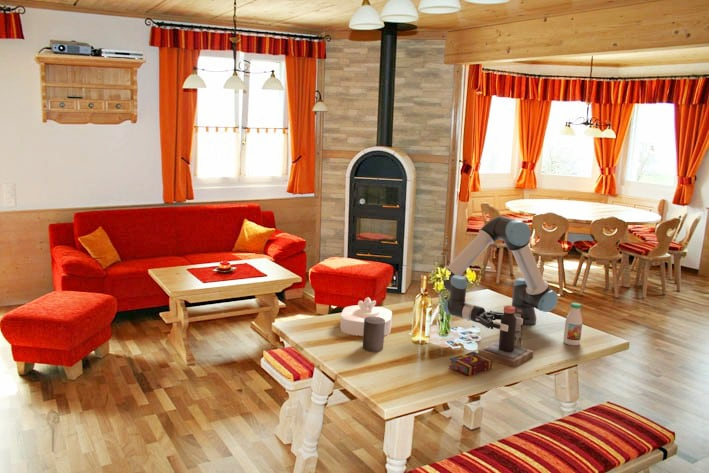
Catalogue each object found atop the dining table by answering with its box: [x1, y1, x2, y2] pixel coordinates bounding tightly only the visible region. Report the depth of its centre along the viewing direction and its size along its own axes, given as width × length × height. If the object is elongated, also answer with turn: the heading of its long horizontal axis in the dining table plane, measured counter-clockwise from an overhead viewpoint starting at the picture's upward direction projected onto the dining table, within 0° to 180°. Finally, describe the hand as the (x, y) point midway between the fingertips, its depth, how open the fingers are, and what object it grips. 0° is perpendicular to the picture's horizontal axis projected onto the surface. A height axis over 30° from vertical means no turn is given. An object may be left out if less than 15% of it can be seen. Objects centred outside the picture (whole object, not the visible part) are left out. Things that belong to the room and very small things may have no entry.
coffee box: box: [514, 308, 524, 347], centre depth 300 cm, size 9×6×16 cm
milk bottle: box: [563, 302, 583, 346], centre depth 302 cm, size 8×8×20 cm
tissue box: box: [339, 297, 393, 337], centre depth 312 cm, size 25×25×16 cm
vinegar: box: [498, 305, 516, 352], centre depth 281 cm, size 7×7×20 cm
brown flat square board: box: [477, 339, 534, 368], centre depth 283 cm, size 18×18×3 cm
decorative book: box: [448, 351, 493, 377], centre depth 268 cm, size 11×16×5 cm
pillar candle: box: [362, 316, 385, 353], centre depth 285 cm, size 10×10×15 cm
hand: (515, 325), depth 278 cm, fingers open, 13 cm apart
